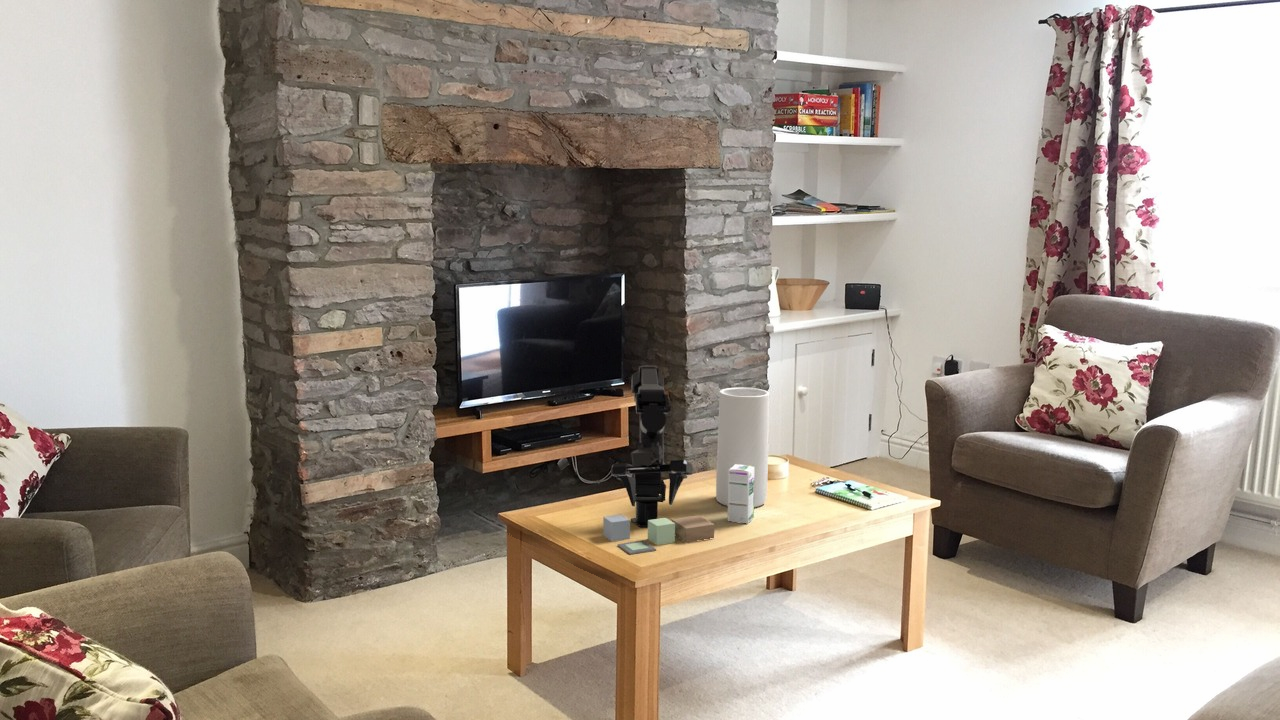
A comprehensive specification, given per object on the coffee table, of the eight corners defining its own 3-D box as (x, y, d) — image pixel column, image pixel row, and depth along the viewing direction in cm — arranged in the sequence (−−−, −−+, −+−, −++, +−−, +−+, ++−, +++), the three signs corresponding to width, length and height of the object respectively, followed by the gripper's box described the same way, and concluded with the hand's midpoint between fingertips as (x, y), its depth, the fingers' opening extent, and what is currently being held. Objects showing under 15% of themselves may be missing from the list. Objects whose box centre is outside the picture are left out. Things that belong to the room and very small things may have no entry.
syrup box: (748, 524, 271) (749, 471, 269) (726, 521, 273) (728, 468, 271) (753, 518, 276) (755, 465, 274) (732, 515, 278) (734, 463, 276)
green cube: (647, 539, 258) (647, 520, 258) (665, 536, 261) (665, 517, 260) (656, 545, 254) (657, 526, 253) (674, 542, 256) (675, 523, 255)
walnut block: (671, 534, 263) (671, 519, 263) (698, 530, 267) (699, 515, 266) (686, 544, 256) (686, 528, 255) (714, 539, 259) (714, 524, 259)
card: (617, 545, 253) (617, 543, 253) (643, 541, 256) (643, 539, 256) (630, 554, 247) (630, 552, 247) (656, 550, 250) (656, 548, 250)
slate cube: (603, 535, 261) (603, 516, 260) (621, 533, 263) (621, 514, 262) (611, 541, 256) (611, 522, 255) (629, 539, 258) (630, 519, 258)
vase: (739, 491, 301) (742, 385, 296) (777, 502, 290) (781, 392, 285) (705, 500, 291) (707, 391, 286) (743, 512, 281) (746, 399, 276)
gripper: (603, 436, 242) (602, 503, 238) (679, 431, 236) (679, 500, 232) (619, 444, 252) (619, 508, 248) (692, 440, 246) (693, 505, 242)
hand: (651, 505), depth 242 cm, fingers open, 9 cm apart
